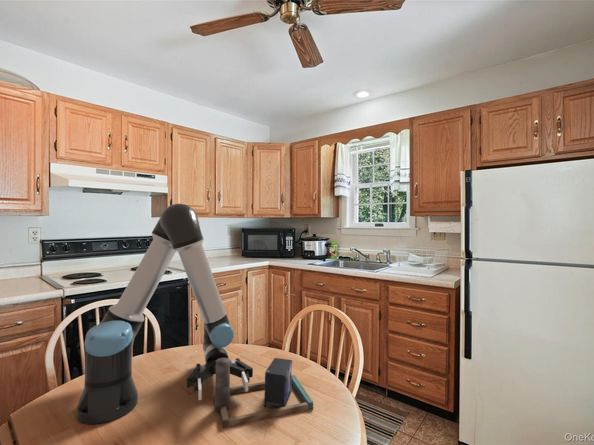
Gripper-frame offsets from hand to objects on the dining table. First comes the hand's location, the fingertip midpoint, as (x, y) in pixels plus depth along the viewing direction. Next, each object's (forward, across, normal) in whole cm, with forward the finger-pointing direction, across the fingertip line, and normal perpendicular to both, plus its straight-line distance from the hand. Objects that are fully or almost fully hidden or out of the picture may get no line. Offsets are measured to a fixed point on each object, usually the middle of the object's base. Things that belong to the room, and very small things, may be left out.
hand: (224, 390), depth 85 cm
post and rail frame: (-4, -12, -7) cm, 14 cm away
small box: (-4, -17, -8) cm, 19 cm away
